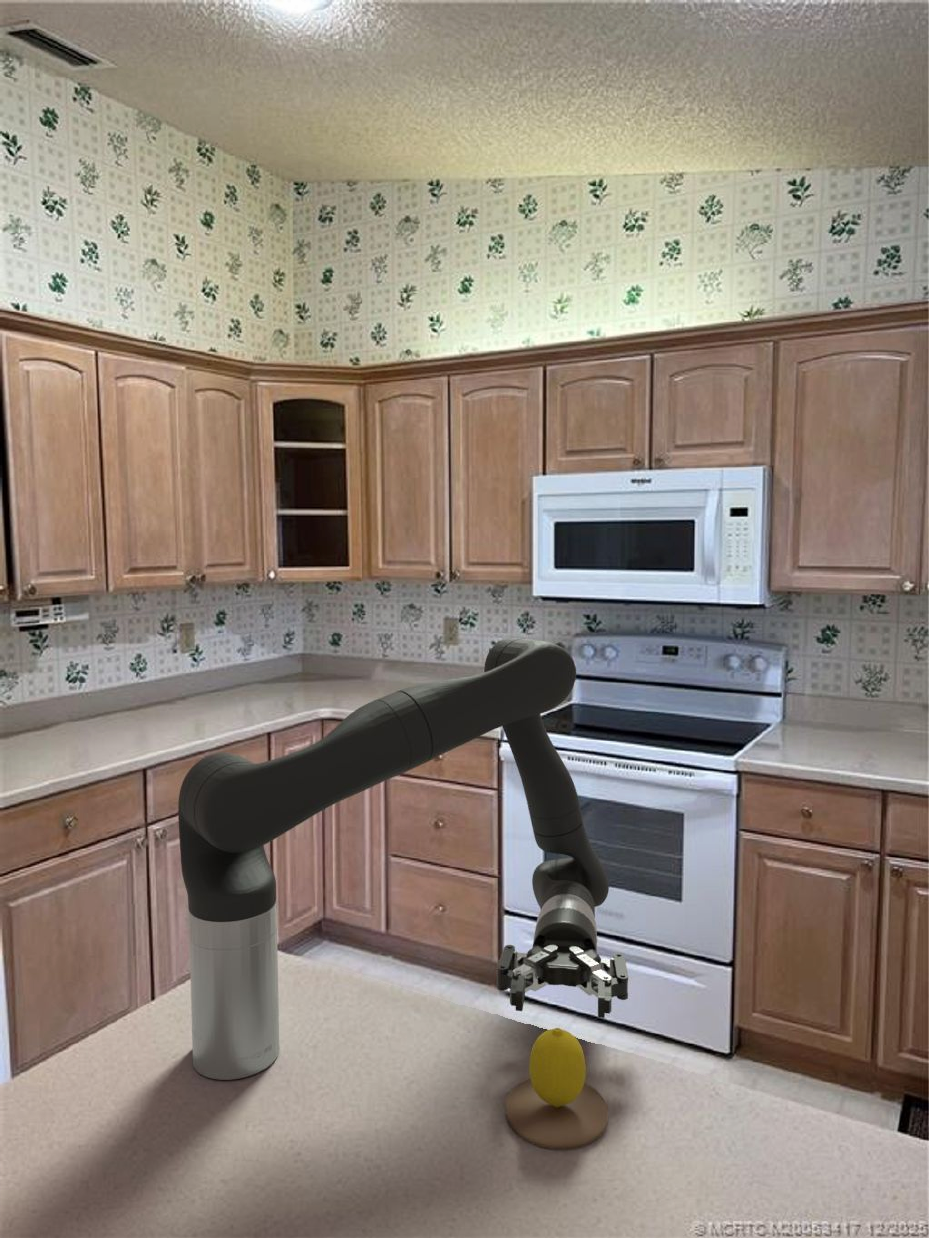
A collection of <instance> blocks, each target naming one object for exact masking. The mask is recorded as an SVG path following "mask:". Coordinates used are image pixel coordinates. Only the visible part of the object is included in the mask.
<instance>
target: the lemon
mask: <svg viewBox="0 0 929 1238" xmlns="http://www.w3.org/2000/svg"><path fill="white" fill-rule="evenodd" d="M529 1057H530V1058H529V1064H528V1065H529V1067H528V1069H529V1070H528V1071H529V1079H531V1082H532V1086H533V1088H534V1090H535V1092H536V1093H537V1095H538V1096H539V1097H540V1098H541V1099H542V1100H543V1101H545V1102H546V1103H548V1104H551V1105H554V1106H555V1107H560V1106H563V1105H567V1104H569V1103H571V1102H572V1101H574V1100H575V1099H576V1098H577V1097H578V1095H579V1094H580V1092H581V1091H582V1089H583V1086H584V1083H585V1081H586V1075H587V1066H586V1059H585V1055H584V1051H583V1047H582V1046H581V1044H580V1042H579V1040H578V1039H577V1038H576V1036H574V1035H573V1034H572V1033H571V1032H570V1031H567V1030H565V1029H562V1028H560V1027H554V1028H552V1029H548V1030H546V1031H544V1032H542V1033H541V1034H540V1035H538V1037H537V1038H536V1040H535V1042H534V1043H533V1046H532V1049H531V1052H530V1056H529Z"/></svg>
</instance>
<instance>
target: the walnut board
mask: <svg viewBox="0 0 929 1238" xmlns="http://www.w3.org/2000/svg"><path fill="white" fill-rule="evenodd" d="M608 1114H609V1112H608V1106H607V1103H606V1101H605V1099H604V1097H603V1096H602V1095H601V1094H600V1092H598V1091H597V1090H596V1089H595V1088H593V1087H592V1086H591V1085H589V1084H586V1083H585V1082H584V1086H583V1089H582V1091H581V1092H580V1094H579V1095H578V1097H577V1098H576V1099H575V1100H574V1101H572V1102H571V1103H569V1104H567V1105H563V1106H560V1107H555V1106H554V1105H551V1104H548V1103H546V1102H545V1101H543V1100H542V1099H541V1098H540V1097H539V1096H538V1095H537V1093H536V1092H535V1090H534V1088H533V1086H532V1082H531V1079H530V1078H529V1079H527V1080H524V1081H522V1082H520V1083H518V1084H517V1085H515V1087H514V1088H512V1089H511V1090H510V1092H509V1093H508V1095H507V1097H506V1101H505V1118H506V1121H507V1124H508V1126H509V1127H510V1129H511V1130H512V1132H514V1133H515V1135H517V1136H518V1137H519V1138H520V1139H522V1140H524V1141H525V1142H528V1143H529V1144H532V1145H534V1146H537V1147H541V1148H544V1149H548V1150H558V1151H559V1150H560V1151H562V1150H563V1151H565V1150H567V1151H568V1150H575V1149H580V1148H584V1147H586V1146H588V1145H591V1144H592V1143H594V1142H595V1141H597V1140H598V1139H599V1138H600V1137H601V1136H602V1135H603V1134H604V1132H605V1131H606V1129H607V1126H608V1119H609V1117H608V1116H609V1115H608Z"/></svg>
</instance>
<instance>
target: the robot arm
mask: <svg viewBox="0 0 929 1238" xmlns="http://www.w3.org/2000/svg"><path fill="white" fill-rule="evenodd" d="M576 678H577V667H576V663H575V661H574V659H573V657H572V656H571V654H570V653H569V652H568V651H567V650H566V649H564V648H563V647H561V646H560V645H558V644H556V643H553V642H550V641H547V640H546V641H545V640H539V639H529V638H521V637H520V638H519V637H513V638H512V637H508V638H504V639H501V640H499V641H498V642H497V643H495V644H494V645H493V646H492V647H491V648H490V649H489V651H488V653H487V656H486V657H485V662H484V668H483V672H482V673H479V674H475V675H470V676H464V677H457V678H453V679H452V678H451V679H444V680H437V681H431V682H426V683H420V684H416V685H413V686H409V687H406V688H403V689H400V690H396V691H394V692H392V693H389V694H387V695H384V696H382V697H378V699H374V700H371V701H370V702H367V703H365V704H364V705H362V706H360V707H359V708H357V709H355V710H354V711H353V712H351V713H350V714H348V716H346V717H345V718H344V719H343V720H342V721H341V722H340V723H338V724H337V725H336V726H335V727H334V728H333V729H332V730H331V731H330V732H328V733H327V734H326V735H325V736H324V737H323V738H321V739H320V740H318V741H316V742H314V743H313V744H311V745H309V746H307V747H304V748H302V749H300V750H299V749H298V750H297V751H294V752H292V753H289V754H286V755H283V756H281V757H278V758H274V759H271V760H267V761H264V762H258V763H255V762H253V761H251V760H248V758H246V757H243V756H242V755H240V754H237V753H236V754H235V753H231V752H217V753H213V754H209V755H207V756H205V757H203V758H201V759H200V760H198V761H197V762H196V763H195V764H194V765H193V766H191V768H190V769H189V770H188V772H187V773H186V775H185V776H184V778H183V781H182V783H181V786H180V789H179V793H178V804H177V805H178V810H177V815H178V819H177V820H178V831H179V832H178V836H179V837H178V838H179V849H180V851H179V852H180V854H179V855H180V864H181V865H180V868H181V875H182V879H183V883H184V886H185V889H186V893H187V903H188V932H189V933H188V936H189V968H190V969H189V970H190V971H189V972H190V1000H191V1001H190V1005H191V1007H190V1008H191V1009H190V1010H191V1039H192V1044H191V1046H192V1064H193V1068H194V1069H195V1070H196V1072H197V1073H199V1074H200V1075H202V1076H204V1077H206V1078H208V1079H209V1078H210V1079H213V1080H220V1081H223V1080H227V1081H231V1080H238V1079H239V1080H240V1079H243V1078H248V1077H250V1076H253V1075H256V1074H258V1073H259V1072H262V1071H264V1070H265V1069H267V1068H268V1067H269V1066H271V1065H272V1064H273V1063H274V1062H275V1061H276V1059H277V1058H278V1055H279V1053H280V1014H279V1013H280V1010H279V1009H280V1007H279V1006H280V1003H279V964H278V963H279V962H278V959H279V956H278V955H279V954H278V951H279V950H278V914H277V913H278V912H277V906H278V905H277V880H276V879H277V878H276V875H275V873H274V871H273V868H272V867H271V865H270V862H269V860H268V857H267V854H266V850H265V846H264V845H266V844H269V843H271V842H272V841H274V840H275V839H277V838H279V837H280V836H282V835H284V834H285V833H287V832H289V831H290V830H292V829H293V828H295V827H297V826H299V825H300V824H302V823H304V822H305V821H307V820H309V819H311V818H312V817H315V815H317V814H319V813H321V812H322V811H324V810H326V809H327V808H329V807H331V806H333V805H336V804H337V803H340V802H342V801H344V800H346V799H348V798H350V797H353V796H355V795H358V794H360V793H362V792H365V791H366V790H369V789H371V788H373V787H375V786H377V785H379V784H381V783H383V782H386V781H388V780H390V779H393V778H395V777H397V776H400V775H402V774H404V773H407V772H408V771H411V770H414V769H415V768H418V767H419V766H422V765H423V764H426V763H428V762H430V761H432V760H434V759H436V758H437V757H440V756H441V755H444V754H446V753H448V752H450V751H452V750H454V749H457V748H459V747H460V746H463V745H466V744H467V743H470V742H471V741H473V740H475V739H477V738H479V737H481V736H483V735H485V734H487V733H489V732H492V731H493V730H494V731H495V730H496V729H498V728H501V727H502V729H503V732H504V735H505V737H506V740H507V743H508V745H509V749H510V751H511V753H512V756H513V759H514V761H515V765H516V767H517V770H518V773H519V776H520V779H521V783H522V787H523V791H524V795H525V800H526V804H527V809H528V815H529V819H530V822H531V826H532V832H533V836H534V841H535V843H536V844H537V845H536V846H537V847H538V849H541V850H542V851H543V852H546V853H550V854H556V855H563V856H568V857H566V858H558V859H551V860H546V861H543V862H541V863H540V864H538V865H537V866H536V867H535V869H534V870H533V873H532V879H531V882H532V890H533V894H534V898H535V899H536V903H537V905H538V906H539V908H540V911H539V914H538V916H537V919H536V923H535V931H534V935H533V940H532V941H533V942H532V948H531V949H529V950H528V951H527V952H518V951H516V947H515V945H512V944H506V945H505V946H504V948H503V950H502V954H501V956H500V958H499V961H498V963H497V969H496V970H497V971H496V972H497V976H496V977H497V979H496V980H497V981H496V982H497V983H496V988H497V990H499V991H507V990H508V989H509V1004H510V1006H512V1007H513V1006H514V1007H515V1011H516V1012H523V1009H524V1003H525V998H526V997H525V996H526V993H527V992H529V991H530V990H532V991H533V992H537V991H539V990H540V989H543V988H544V987H546V986H548V985H549V986H567V987H573V988H577V987H578V988H579V989H580V990H582V992H584V993H585V994H586V995H587V996H592V995H593V996H595V997H596V998H597V1018H598V1019H599V1018H600V1019H605V1018H606V1017H605V1015H606V1014H611V1012H612V998H614V997H616V998H617V999H618V1000H621V1001H625V1000H626V1001H627V1000H628V999H629V993H628V992H629V991H628V984H629V974H628V968H627V963H626V957H625V954H624V953H622V952H614V953H613V957H611V958H601V955H599V954H598V950H597V947H598V945H597V943H598V937H597V934H598V931H597V922H596V918H595V917H596V913H595V912H596V908H597V907H599V906H601V905H602V904H603V903H604V902H605V901H606V899H607V897H608V894H609V889H610V886H609V885H610V883H609V879H608V875H607V873H606V870H605V868H604V866H603V864H602V862H601V860H600V858H599V857H598V854H597V853H596V852H595V850H594V848H593V846H592V844H591V842H590V839H589V837H588V835H587V832H586V829H585V825H584V821H583V815H582V811H581V810H582V809H581V806H580V801H579V797H578V793H577V789H576V786H575V783H574V781H573V778H572V776H571V774H570V771H569V770H568V768H567V767H566V765H565V763H564V761H563V759H562V758H561V756H560V754H559V753H558V751H557V749H556V748H555V745H554V744H553V742H552V741H551V738H550V736H549V734H548V732H547V730H546V726H545V725H544V721H543V719H542V715H541V714H543V713H547V712H549V711H551V710H554V709H556V708H557V707H558V706H559V705H561V704H562V703H564V701H565V700H566V699H567V698H568V696H569V695H570V694H571V692H572V690H573V688H574V686H575V682H576Z"/></svg>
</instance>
